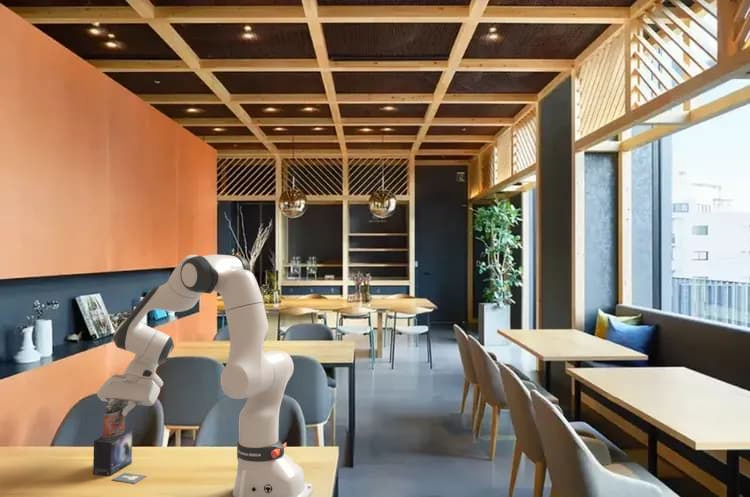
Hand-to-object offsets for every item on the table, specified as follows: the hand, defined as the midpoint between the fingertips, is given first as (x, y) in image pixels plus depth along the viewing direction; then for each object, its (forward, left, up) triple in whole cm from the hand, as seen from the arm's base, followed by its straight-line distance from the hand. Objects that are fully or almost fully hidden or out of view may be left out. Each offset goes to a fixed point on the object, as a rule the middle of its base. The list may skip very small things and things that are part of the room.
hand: (115, 414), depth 169 cm
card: (-10, +5, -17) cm, 20 cm away
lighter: (0, +1, -6) cm, 6 cm away
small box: (0, +1, -17) cm, 17 cm away
